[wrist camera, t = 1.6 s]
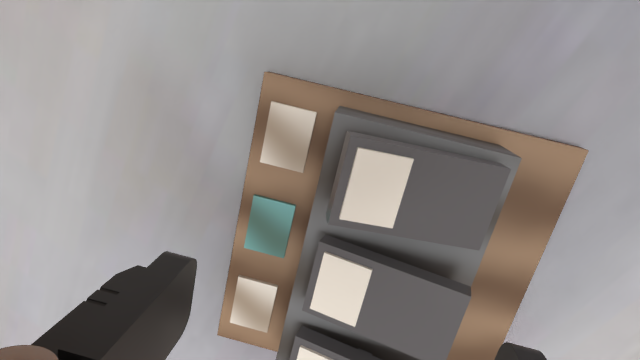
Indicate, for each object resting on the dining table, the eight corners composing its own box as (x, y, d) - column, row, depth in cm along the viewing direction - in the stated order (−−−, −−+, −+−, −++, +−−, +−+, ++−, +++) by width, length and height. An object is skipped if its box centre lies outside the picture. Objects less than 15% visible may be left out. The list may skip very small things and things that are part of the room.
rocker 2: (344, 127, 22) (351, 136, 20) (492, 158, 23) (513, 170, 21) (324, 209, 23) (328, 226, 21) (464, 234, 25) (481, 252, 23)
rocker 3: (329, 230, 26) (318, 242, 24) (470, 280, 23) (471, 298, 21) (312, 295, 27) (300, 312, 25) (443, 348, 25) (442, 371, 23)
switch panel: (267, 71, 28) (247, 72, 23) (580, 147, 27) (626, 165, 22) (221, 327, 34) (197, 369, 30) (471, 396, 33) (488, 452, 29)
